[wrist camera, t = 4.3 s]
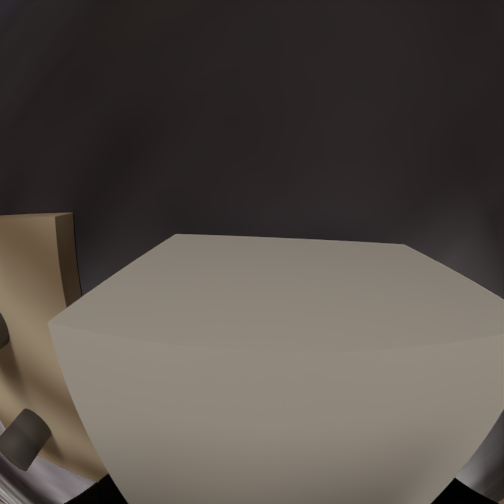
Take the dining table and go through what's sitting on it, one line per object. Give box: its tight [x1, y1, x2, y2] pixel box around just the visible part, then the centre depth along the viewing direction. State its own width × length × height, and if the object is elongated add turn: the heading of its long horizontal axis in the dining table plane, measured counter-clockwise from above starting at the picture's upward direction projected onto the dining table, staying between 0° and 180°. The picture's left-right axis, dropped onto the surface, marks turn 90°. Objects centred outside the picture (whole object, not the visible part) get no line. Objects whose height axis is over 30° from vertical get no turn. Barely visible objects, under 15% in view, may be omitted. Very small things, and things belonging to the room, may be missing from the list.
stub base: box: [0, 213, 108, 482], centre depth 8 cm, size 15×10×4 cm, turn 178°
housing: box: [47, 234, 504, 504], centre depth 6 cm, size 12×6×5 cm, turn 178°
